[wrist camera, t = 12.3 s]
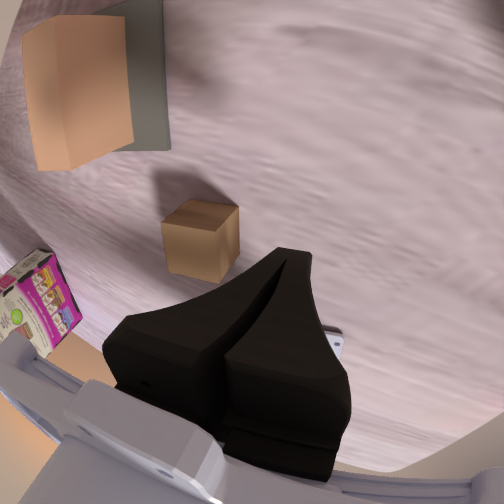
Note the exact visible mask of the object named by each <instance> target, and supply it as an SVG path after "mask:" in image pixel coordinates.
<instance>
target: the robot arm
mask: <svg viewBox="0 0 504 504" xmlns="http://www.w3.org/2000/svg"><path fill="white" fill-rule="evenodd" d="M311 264H312V254H311V253H310V252H306V251H300V250H294V249H287V248H281V247H278V248H276V249H275V250H273V251H272V252H271V253H269V254H268V255H267V256H265V257H264V258H263V259H262V260H260V261H259V262H258V263H256V264H255V265H253V266H252V267H251V268H249V269H248V270H246V271H245V272H244V273H242V274H240V275H239V276H237V277H236V278H234V279H232V280H231V281H229V282H227V283H226V284H224V285H222V286H220V287H218V288H216V289H214V290H212V291H210V292H208V293H206V294H204V295H201V296H198V297H196V298H193V299H191V300H188V301H186V302H183V303H180V304H177V305H174V306H170V307H167V308H163V309H159V310H155V311H150V312H145V313H140V314H135V315H128V316H126V317H125V318H124V319H123V320H122V322H121V323H120V324H119V325H118V326H117V327H116V328H115V330H114V331H113V332H112V333H111V334H110V335H109V336H108V338H107V339H106V340H105V341H104V343H103V345H102V351H103V355H104V358H105V360H106V362H107V364H108V366H109V368H110V370H111V372H112V374H113V376H114V377H115V379H116V381H117V384H116V386H115V387H114V388H113V387H111V386H109V385H107V384H105V383H102V382H99V381H97V380H88V381H87V382H83V381H81V380H79V379H78V378H76V377H74V376H72V375H71V374H69V373H68V372H66V371H64V370H62V369H61V368H59V367H57V366H56V365H54V364H53V363H51V362H49V361H48V360H47V359H45V358H43V357H42V356H40V355H39V354H38V352H37V350H36V348H35V347H34V345H33V344H32V343H31V341H30V340H29V339H27V338H26V337H25V336H23V335H22V334H20V333H19V332H17V331H16V330H13V331H12V332H11V333H10V334H9V335H8V336H7V337H6V338H5V339H4V340H3V341H2V342H1V344H0V392H1V393H2V395H3V396H4V397H5V398H6V399H7V400H8V401H9V402H10V403H11V404H12V405H13V406H14V407H15V408H16V409H17V410H18V411H19V412H21V413H22V414H23V415H24V416H25V417H26V418H27V419H28V420H29V421H31V422H32V423H33V424H34V425H35V426H36V427H37V428H39V429H40V430H41V431H42V432H43V433H45V434H46V435H47V436H48V437H49V438H51V439H52V440H53V441H54V442H56V443H57V444H58V445H59V446H58V448H57V449H56V450H55V452H54V453H53V455H52V456H51V457H50V459H49V460H48V461H47V463H46V464H45V466H44V467H43V468H42V470H41V471H40V473H39V474H38V475H37V477H36V478H35V480H34V481H33V483H32V484H31V486H30V487H29V489H28V490H27V491H26V493H25V494H24V496H23V497H22V498H21V500H20V501H19V503H18V504H504V466H497V467H490V468H487V469H484V470H482V471H480V472H478V473H477V474H476V475H475V476H474V477H473V478H460V479H419V478H399V477H385V476H375V475H366V474H358V473H350V472H343V471H337V470H333V466H334V462H335V458H336V454H337V452H338V450H339V446H340V442H341V437H342V435H343V433H344V431H345V429H346V427H347V425H348V423H349V421H350V417H351V393H350V386H349V381H348V376H347V372H346V371H345V369H344V368H343V366H342V365H341V363H340V361H339V357H340V354H341V350H342V346H343V342H344V336H343V335H342V334H340V333H335V332H329V331H324V330H323V328H322V325H321V322H320V320H319V317H318V314H317V310H316V307H315V303H314V299H313V294H312V288H311V281H310V274H311ZM336 342H338V343H336Z"/></svg>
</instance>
